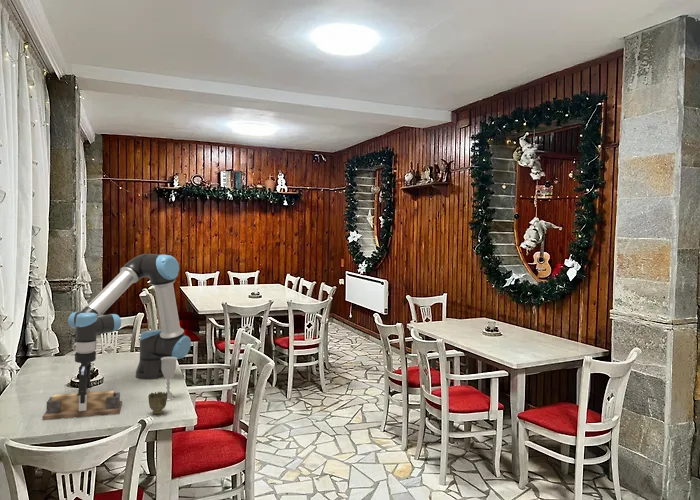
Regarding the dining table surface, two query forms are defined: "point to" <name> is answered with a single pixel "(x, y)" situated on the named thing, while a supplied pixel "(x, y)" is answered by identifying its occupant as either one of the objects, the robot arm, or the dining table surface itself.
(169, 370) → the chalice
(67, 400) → the slat
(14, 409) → the dining table surface
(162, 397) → the cup
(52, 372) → the dining table surface
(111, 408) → the cradle
